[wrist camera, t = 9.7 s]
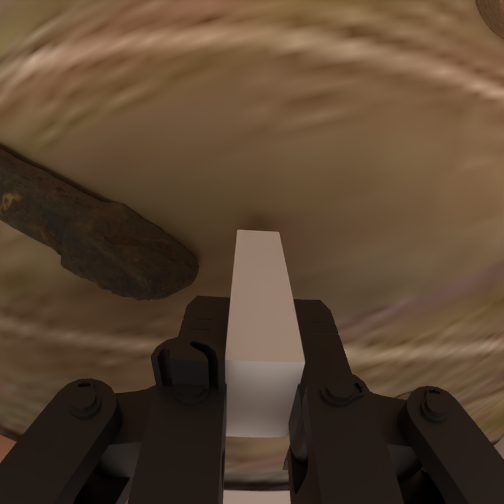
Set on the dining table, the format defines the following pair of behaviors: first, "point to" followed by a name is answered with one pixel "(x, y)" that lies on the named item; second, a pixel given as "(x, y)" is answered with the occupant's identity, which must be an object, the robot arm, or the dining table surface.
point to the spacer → (493, 14)
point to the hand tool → (93, 234)
